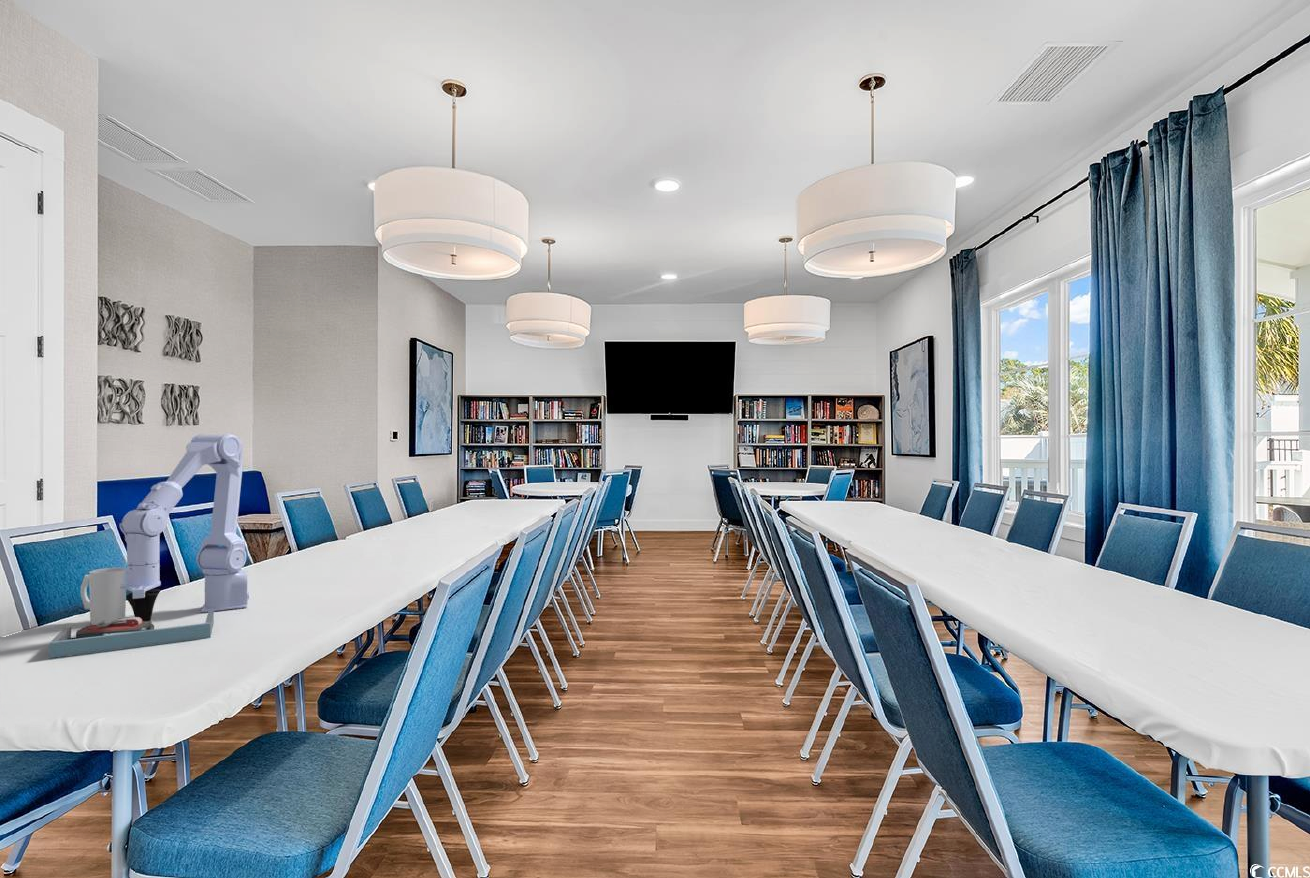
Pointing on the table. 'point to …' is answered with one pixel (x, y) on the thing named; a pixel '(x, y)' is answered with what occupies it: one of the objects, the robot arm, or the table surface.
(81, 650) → the tray
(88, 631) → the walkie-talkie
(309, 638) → the table surface
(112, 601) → the mug
